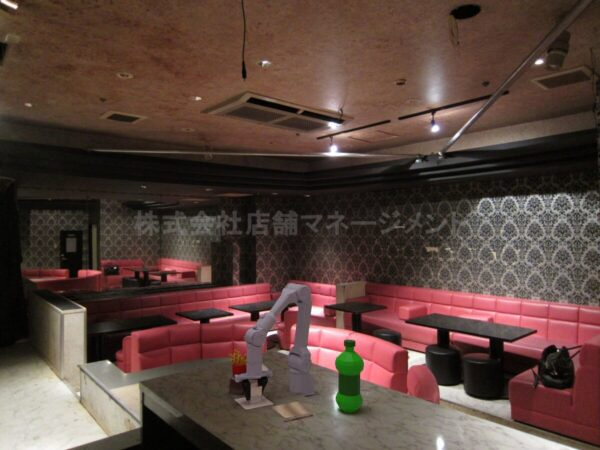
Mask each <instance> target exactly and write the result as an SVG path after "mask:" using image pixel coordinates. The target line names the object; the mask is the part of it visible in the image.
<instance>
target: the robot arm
mask: <svg viewBox="0 0 600 450" xmlns="http://www.w3.org/2000/svg"><path fill="white" fill-rule="evenodd" d="M312 301H313V300H312V290H311V288H309V286H308V285H307V284H297V283H293V282H289V283H287V284H286V286H285V287H284V288H282V291H281V294H280V296H279V298H278V299H277V300H276V301H275V303H274V304H273V306H272V307H271V308H270V310H269V312H264V313H263V314H261V315H260V318H259V321H258V322H256V323H255V324H254V325H253V326H252V327H251V328H249V329H248V330H247V331H246V333H245V335H244V336H243V340H244V342H245V344H246V355H247V357H246V359H247V373H243V374H240V375H236V376H235V381H236V382H239V381H240V382H241V384H242V387H243V389H244V393H245V394H244V396H245V398H246V400H247V401H249V400H250V387H251V384H252V383H251V382H250V381H251V380H257V382H256V383H258V384H260V385H261V386H262V396H264V395H263V394H264V391H265V388H266V387H267V384H268V383H269V378H272V377H273V375H274V371H272V370H270V369H269V370H268V371H262V364H263V346H262V345H264V343H266V341H267V336H268V333H270V331H271V330H272V328H273V327H274V326H275V325H276V323H277V317H278V316H279V315H280V314H281V313H282V312H283V310H285V308H287V306H288V305H289V304H293V303H294V304H295V305H296V306H297V316H296V323H295V331H294V332H295V333H294V338H293V339H294V341H293V346H292V347H290V348H289V351H288V355H287V356H286V358H285V359H286V361H285V362H286V366H287V367H288V371H289V391H290V392H291V393H294V394H301V395H303V396H305V397H307V396H311V395H315V394H316V392H315V376H314V372H313V371H312V369H311V368H312V365H313V361H312V354H311V351H310V350H309V348H308V343H309V334H310V326H311V325H310V324H311V316H312V308H313V302H312Z"/></svg>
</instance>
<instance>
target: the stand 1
mask: <svg viewBox="0 0 600 450" xmlns="http://www.w3.org/2000/svg"><path fill="white" fill-rule="evenodd" d="M234 401H235V402H237V403H238V404H239V405H240V406H241V407H242V408H244V410H250V409H251V410H252V409H255V408H261V407H266V406H272V405H274V403H273V402H271V401H270V400H269V399H268V398H266V397H265V396H264V395H262V403H257V404H252V405H250V404H249V403H248V402H247V401H246V398H245V397H239V398H234Z"/></svg>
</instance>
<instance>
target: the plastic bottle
mask: <svg viewBox="0 0 600 450" xmlns="http://www.w3.org/2000/svg"><path fill="white" fill-rule="evenodd" d="M343 346H344V347H345V348H344V350H343V351H342V352H340V354H338V356H336V358H335V361H334V365H335V366H334V367H335V369H336V370H337V372H338V374H337V375H338V386H337V390H338V391H337V393H336V395H335V402H336V403H335V404H336V405H337V406H338V407H339V409H340V410H341V411H342V412H344V413H346V414H353V412H354V413H356V411H358V410H359V409H360V408H361V406H362V405H363V402H364V401H363V400H364V399H363V396H362V394H361V373H362V372H363V371H364V368H365V362H364V359H363V357H362V356H361V355H359V354H358V352H356V351H355V347H356V340H354V339H344V340H343Z"/></svg>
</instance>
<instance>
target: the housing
mask: <svg viewBox="0 0 600 450" xmlns="http://www.w3.org/2000/svg"><path fill="white" fill-rule="evenodd" d="M262 396H263V395H262V386H261V385H260V384H258V382H253V383H251V387H250V400H249V401H247V400H246V401H247V402H248V403H249V404H250V405H252V404H257V403H262Z"/></svg>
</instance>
